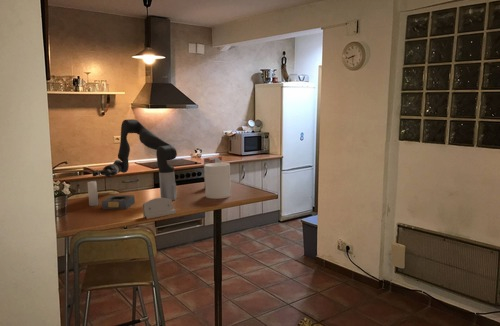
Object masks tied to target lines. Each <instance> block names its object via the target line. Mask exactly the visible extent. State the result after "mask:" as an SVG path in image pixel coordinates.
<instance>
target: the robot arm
mask: <svg viewBox="0 0 500 326" xmlns="http://www.w3.org/2000/svg"><path fill="white" fill-rule="evenodd" d="M129 134H137V135H138V136H139V137H138V138H139V141H140V143H141V144H143V145H144V146H145V147H147V148H149V149H152V150H156V155H155V156H156V164H157V168H158V176H159V177H158V178H159V189H160V190H159V191H160V198H169V199H171V201H175V200H176V199H177V198H178V194H177V193H178V192H177V190H178V189H177V183H176V177H175V167H174V166H172V165H169V164H168V161H169V162H170V161H173V160H175V159H176V158H177V157H178V156H177V155H178V152H177V149H176V148H175V147H174V146H173V145H172V144H170V143H168V142H166V141H164V140H163V139H162V138H160V137H159V136H157V135H156V134H155V133H153V132H152V131H150V130H149V129H148V128H146V127H145V126H144V125H143V124H142V123H141V122H140V121H139V120H137V119H133V118H132V119H129V118H128V119H123V120H122V122H121V127H120V143H119V149H118V154H117V158H118V159H119V160H118V159H116V160H115V161H114V162H113V163H112V164H111V163H110V164H108V165H105V166H104V167H103V168H102V169H100V170H99V169H96V170H93V171H92V177H93V178H94V177H97V176H99V177H102V176H103V177H107V178H111V177H113V176H117V175H118V174H119V173H123V174H124V173H127V172H128V170H129V169H130V168H129V167H130V163H129V155H130V152H131V146H130V144H129V142H128V135H129Z"/></svg>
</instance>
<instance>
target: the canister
mask: <svg viewBox="0 0 500 326" xmlns="http://www.w3.org/2000/svg"><path fill="white" fill-rule="evenodd" d="M204 168H205V181H204V188H205V198H207V199H213V200H216V199H218V200H219V199H225V198H226V199H227V198H230V197H232V185H231V183H232V181H231V179H232V178H231V164H230V162H222V163H209V164H205V165H204V164H203V169H204Z"/></svg>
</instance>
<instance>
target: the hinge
mask: <svg viewBox="0 0 500 326" xmlns="http://www.w3.org/2000/svg"><path fill="white" fill-rule="evenodd" d="M142 212H143V213H142V214H143V218H146V219H147V220H149V219H153V218H159V217H160V218H161V217H163V216H165V217H166V216H170V215H176V214H177V212H176V209H175V207H174V204H173V200H171V199H169V198H161V197H156V198H152V199H149V200H148V201H145V202H144V203H142Z"/></svg>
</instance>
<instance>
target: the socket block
mask: <svg viewBox="0 0 500 326" xmlns="http://www.w3.org/2000/svg"><path fill="white" fill-rule="evenodd" d="M135 201H136V199H135V195H134V194H132V195H131V194H123V195H121V194H120V195H117V194H116V195H110V196H108V197H106V198H104V199H103V200H101V201H100V202H101V210H128V209H129V208H130V207H132V206H133V205H135V204H136V202H135ZM134 203H135V204H134Z"/></svg>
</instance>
